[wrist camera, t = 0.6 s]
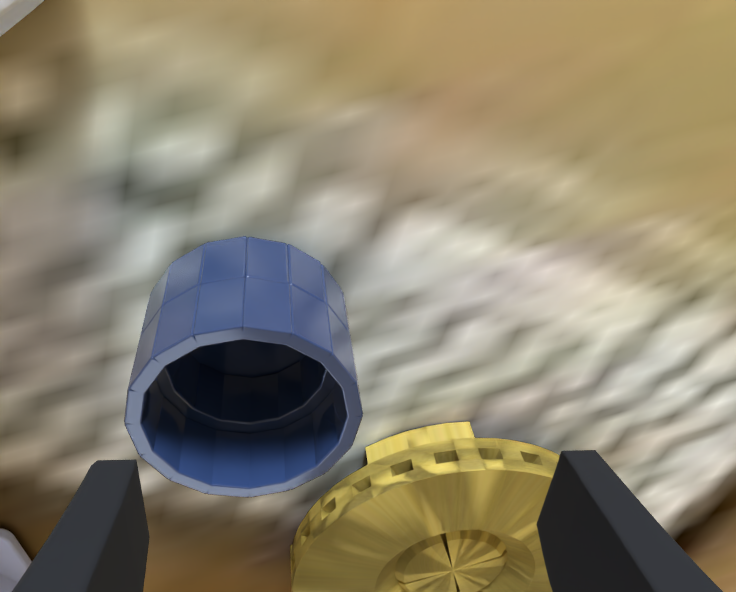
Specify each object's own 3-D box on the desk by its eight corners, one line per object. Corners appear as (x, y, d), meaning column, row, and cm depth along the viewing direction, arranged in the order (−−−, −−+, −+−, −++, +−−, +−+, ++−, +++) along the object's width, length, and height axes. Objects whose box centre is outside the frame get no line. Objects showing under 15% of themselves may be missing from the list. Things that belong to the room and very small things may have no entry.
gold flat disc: (654, 476, 27) (682, 522, 26) (478, 639, 33) (490, 687, 31) (393, 379, 23) (404, 427, 21) (238, 586, 28) (236, 638, 26)
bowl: (181, 397, 22) (164, 513, 19) (123, 246, 19) (90, 352, 15) (356, 366, 22) (374, 476, 19) (328, 212, 19) (343, 307, 16)
